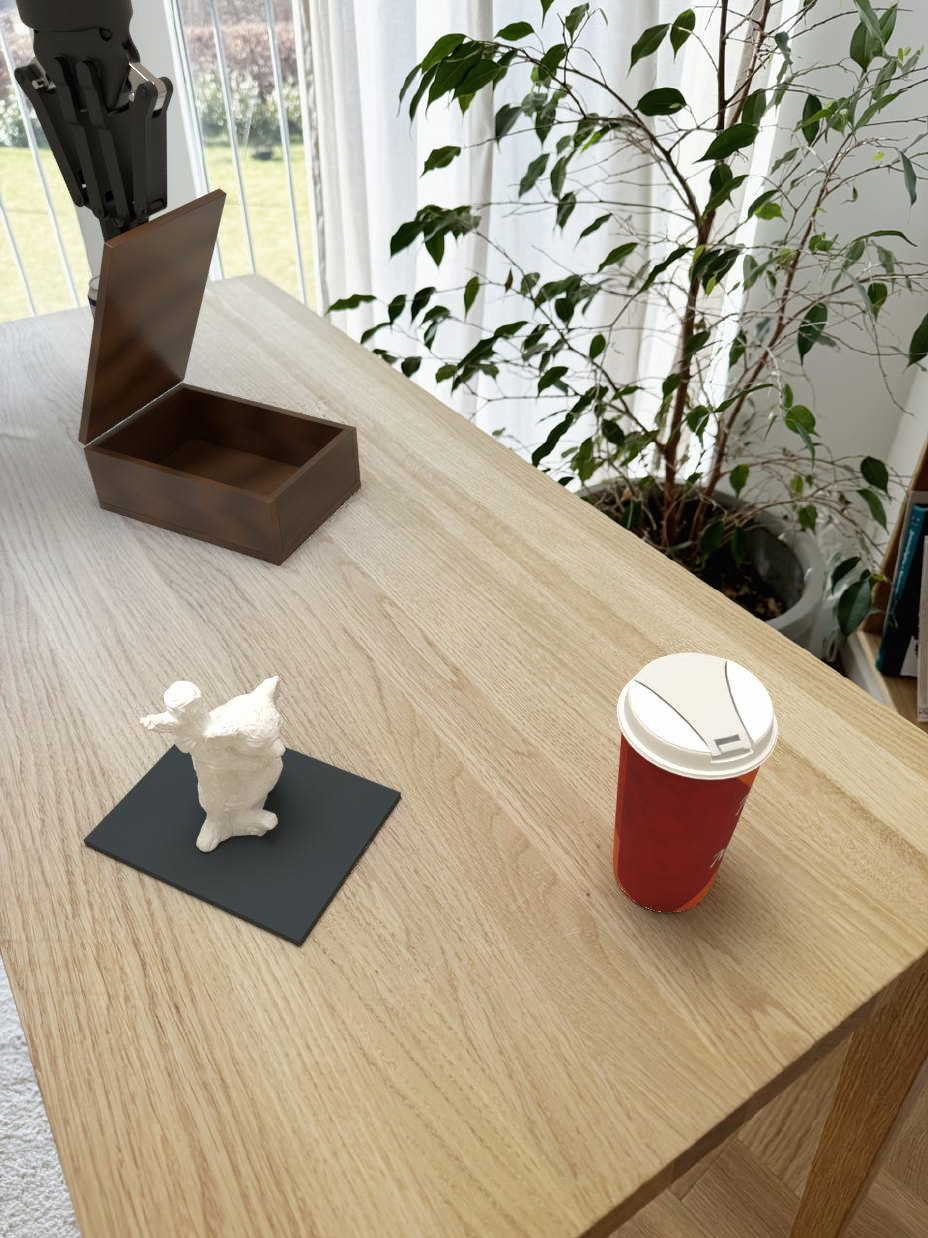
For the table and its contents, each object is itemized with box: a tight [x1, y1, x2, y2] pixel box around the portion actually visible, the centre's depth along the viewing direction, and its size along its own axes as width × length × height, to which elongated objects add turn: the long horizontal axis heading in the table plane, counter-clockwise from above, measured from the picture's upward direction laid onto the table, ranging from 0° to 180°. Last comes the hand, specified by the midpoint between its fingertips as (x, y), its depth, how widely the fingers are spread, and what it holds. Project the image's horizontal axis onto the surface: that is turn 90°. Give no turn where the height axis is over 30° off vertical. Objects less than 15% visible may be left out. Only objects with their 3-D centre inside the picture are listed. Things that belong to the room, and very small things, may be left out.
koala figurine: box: [139, 675, 286, 852], centre depth 58 cm, size 8×7×12 cm
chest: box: [82, 382, 362, 566], centre depth 88 cm, size 20×14×6 cm
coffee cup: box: [612, 651, 779, 913], centre depth 54 cm, size 8×8×15 cm
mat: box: [82, 743, 402, 946], centre depth 62 cm, size 16×12×1 cm
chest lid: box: [77, 188, 228, 447], centre depth 82 cm, size 20×14×1 cm
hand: (141, 298), depth 80 cm, fingers closed
